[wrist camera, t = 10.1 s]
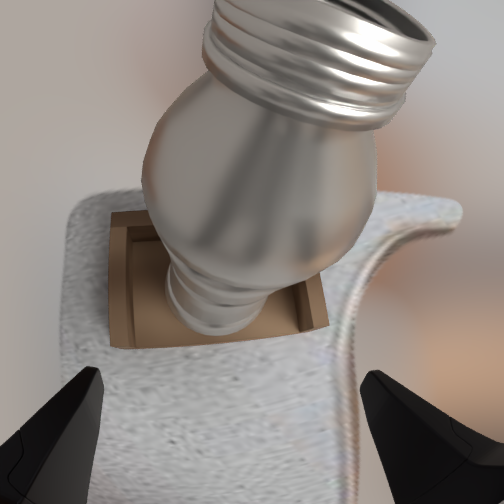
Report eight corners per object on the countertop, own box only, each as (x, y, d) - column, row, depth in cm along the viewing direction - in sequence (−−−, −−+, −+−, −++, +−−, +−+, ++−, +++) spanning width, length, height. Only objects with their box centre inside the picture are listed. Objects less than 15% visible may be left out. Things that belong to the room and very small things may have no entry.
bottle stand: (309, 331, 22) (329, 325, 19) (122, 349, 19) (110, 346, 16) (290, 225, 26) (304, 206, 22) (120, 233, 22) (111, 212, 19)
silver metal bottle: (155, 270, 21) (102, -44, 3) (238, 241, 23) (356, -27, 5) (187, 353, 19) (151, 179, 1) (273, 317, 21) (533, 131, 3)
